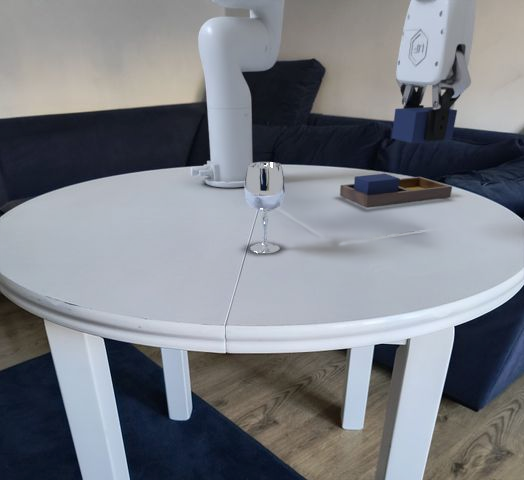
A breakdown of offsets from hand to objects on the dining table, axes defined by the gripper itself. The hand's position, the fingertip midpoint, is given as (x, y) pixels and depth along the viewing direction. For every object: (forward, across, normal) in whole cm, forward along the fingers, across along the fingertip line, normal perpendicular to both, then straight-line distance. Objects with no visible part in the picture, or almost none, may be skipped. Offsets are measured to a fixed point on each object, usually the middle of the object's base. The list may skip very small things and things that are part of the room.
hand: (421, 136), depth 71 cm
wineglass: (+15, -2, -24) cm, 28 cm away
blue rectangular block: (0, 0, 0) cm, 0 cm away
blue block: (+14, -19, +6) cm, 25 cm away
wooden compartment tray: (+15, -19, +11) cm, 27 cm away
